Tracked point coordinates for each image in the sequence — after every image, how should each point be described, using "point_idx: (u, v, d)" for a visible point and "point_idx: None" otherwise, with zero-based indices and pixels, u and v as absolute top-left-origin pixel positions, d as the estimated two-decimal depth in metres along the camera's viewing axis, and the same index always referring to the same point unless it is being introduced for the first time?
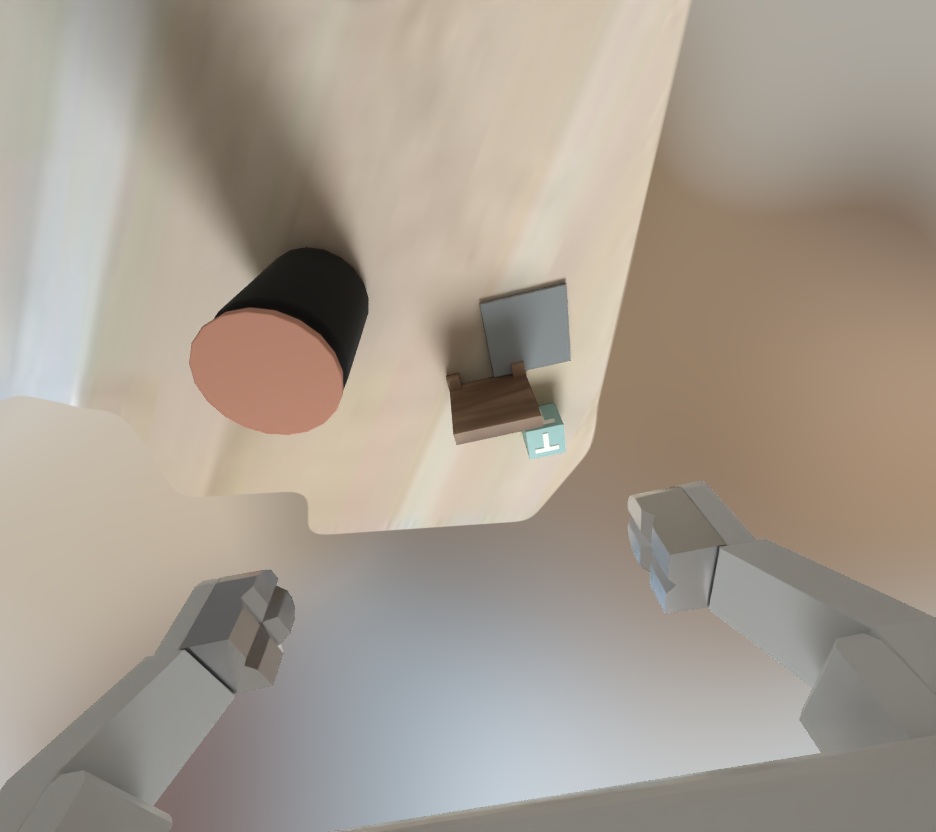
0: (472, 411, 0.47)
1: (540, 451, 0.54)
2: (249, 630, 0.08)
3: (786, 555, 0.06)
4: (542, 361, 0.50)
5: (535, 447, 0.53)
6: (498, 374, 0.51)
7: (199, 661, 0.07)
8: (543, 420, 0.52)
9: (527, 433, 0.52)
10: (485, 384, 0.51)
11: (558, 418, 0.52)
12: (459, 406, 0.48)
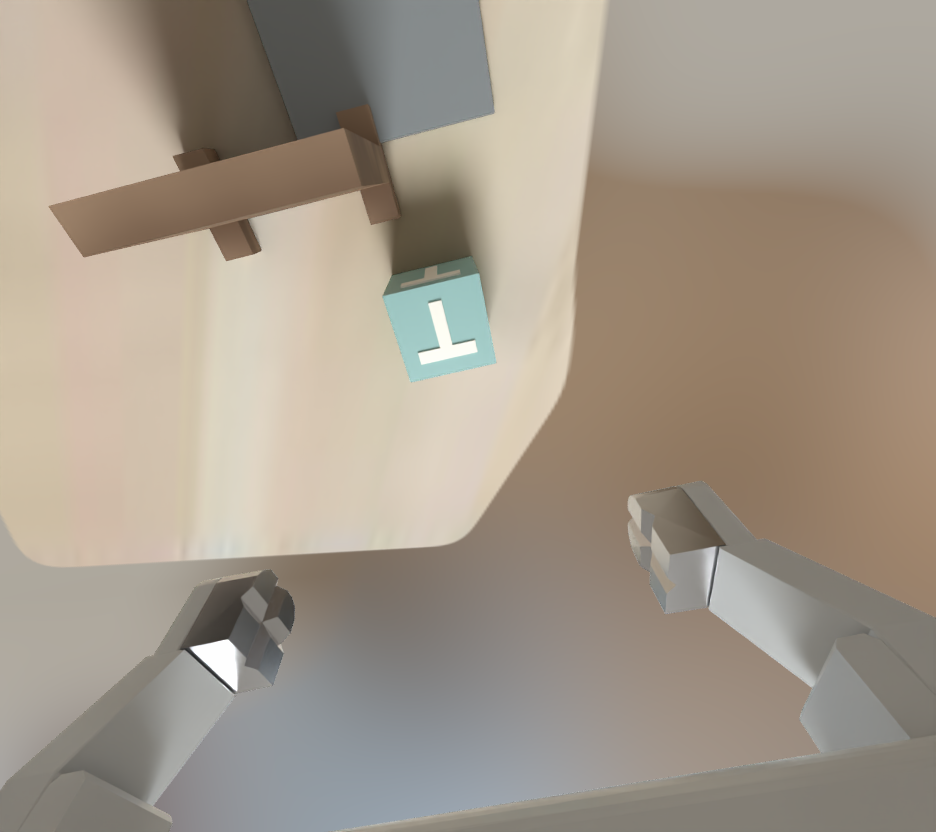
0: None
1: (433, 360, 0.22)
2: (249, 630, 0.08)
3: (786, 555, 0.06)
4: (421, 111, 0.20)
5: (417, 345, 0.21)
6: None
7: (199, 661, 0.07)
8: (434, 275, 0.21)
9: (388, 301, 0.20)
10: None
11: (470, 269, 0.21)
12: None
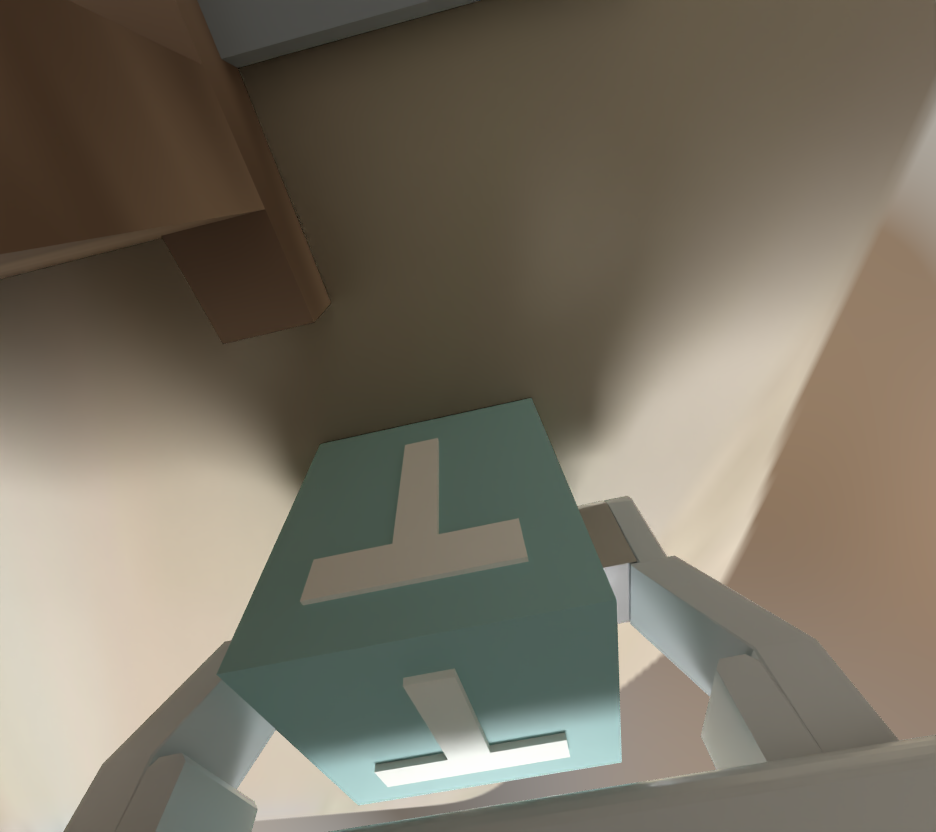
0: None
1: (427, 772, 0.07)
2: None
3: (690, 573, 0.06)
4: None
5: (372, 754, 0.06)
6: None
7: None
8: (428, 535, 0.06)
9: (244, 681, 0.05)
10: None
11: (560, 520, 0.06)
12: None
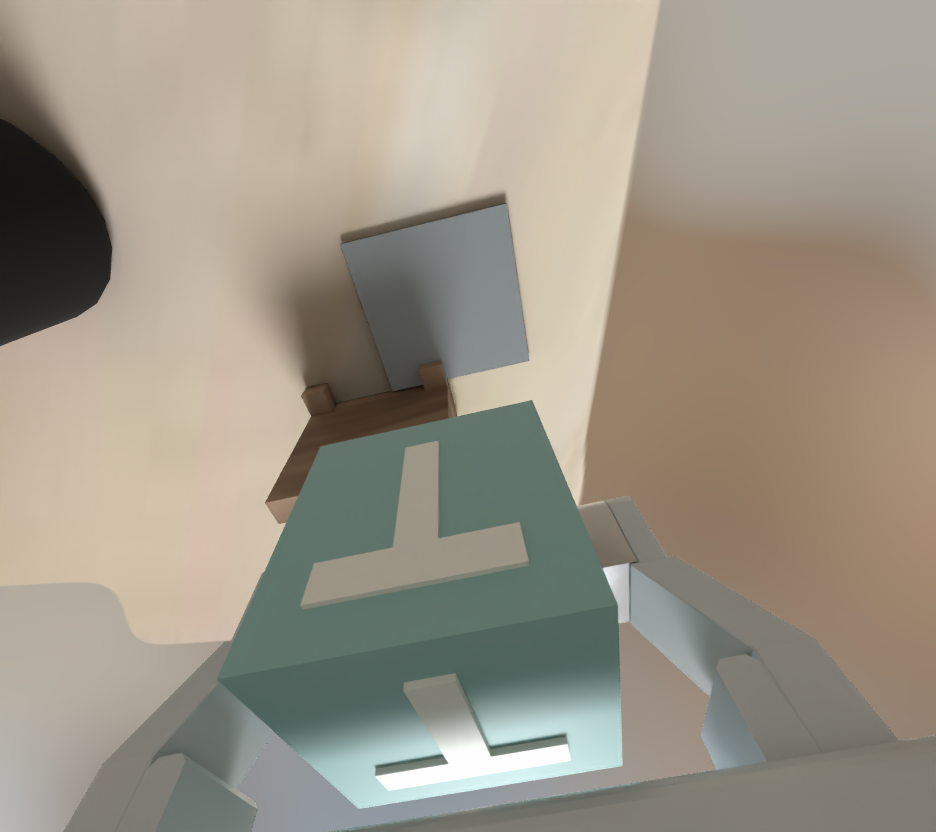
0: None
1: (428, 775, 0.07)
2: None
3: (690, 573, 0.06)
4: (477, 362, 0.28)
5: (373, 758, 0.06)
6: (399, 385, 0.28)
7: None
8: (428, 539, 0.06)
9: (244, 686, 0.05)
10: (374, 403, 0.28)
11: (560, 524, 0.06)
12: (309, 443, 0.25)
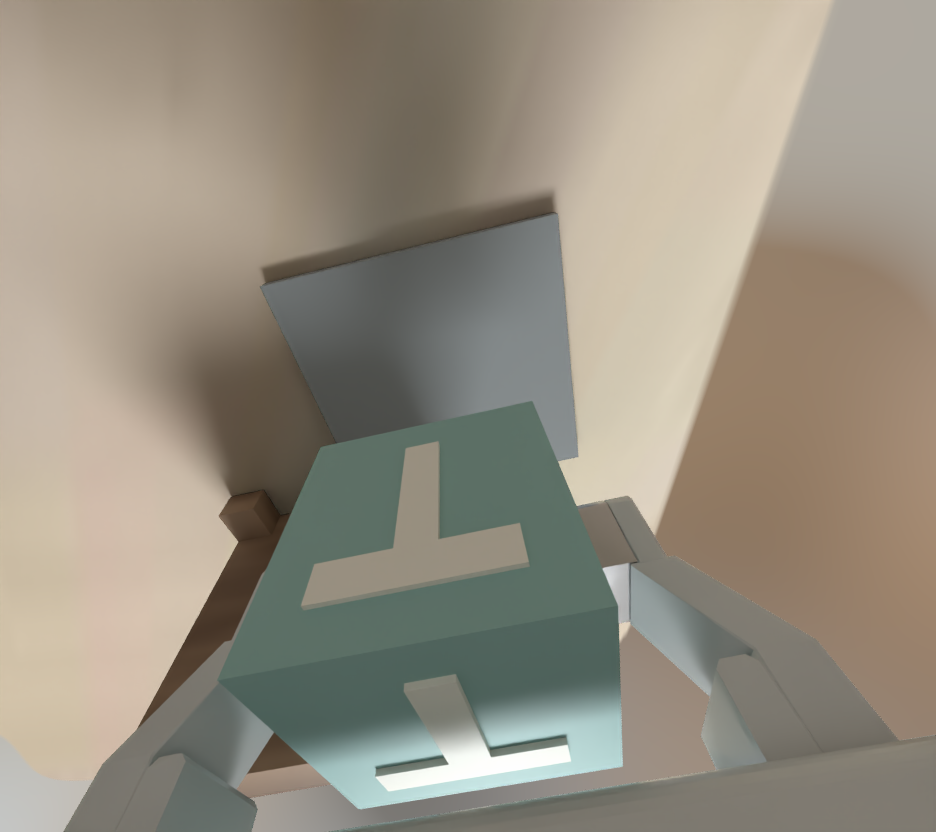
0: None
1: (428, 777, 0.07)
2: None
3: (690, 573, 0.06)
4: None
5: (373, 759, 0.06)
6: None
7: None
8: (429, 540, 0.06)
9: (245, 686, 0.05)
10: None
11: (561, 525, 0.06)
12: (220, 615, 0.15)
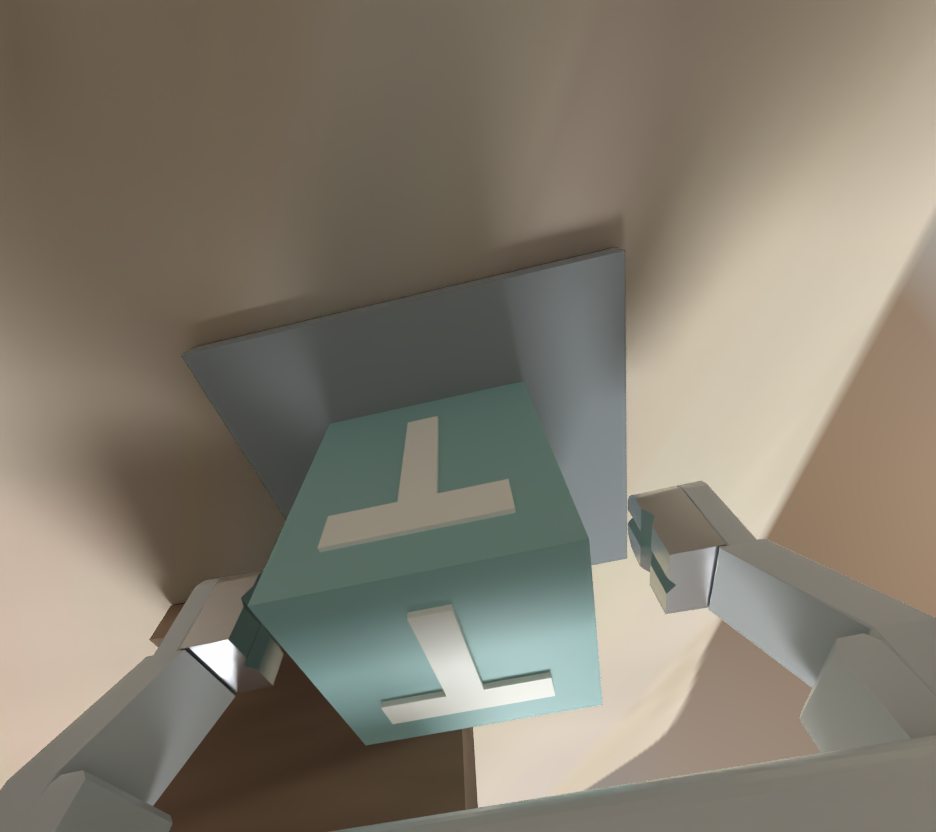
0: None
1: (427, 710, 0.08)
2: (249, 630, 0.08)
3: (786, 555, 0.06)
4: None
5: (379, 691, 0.07)
6: None
7: (199, 661, 0.07)
8: (428, 494, 0.07)
9: (270, 613, 0.06)
10: None
11: (544, 480, 0.07)
12: None
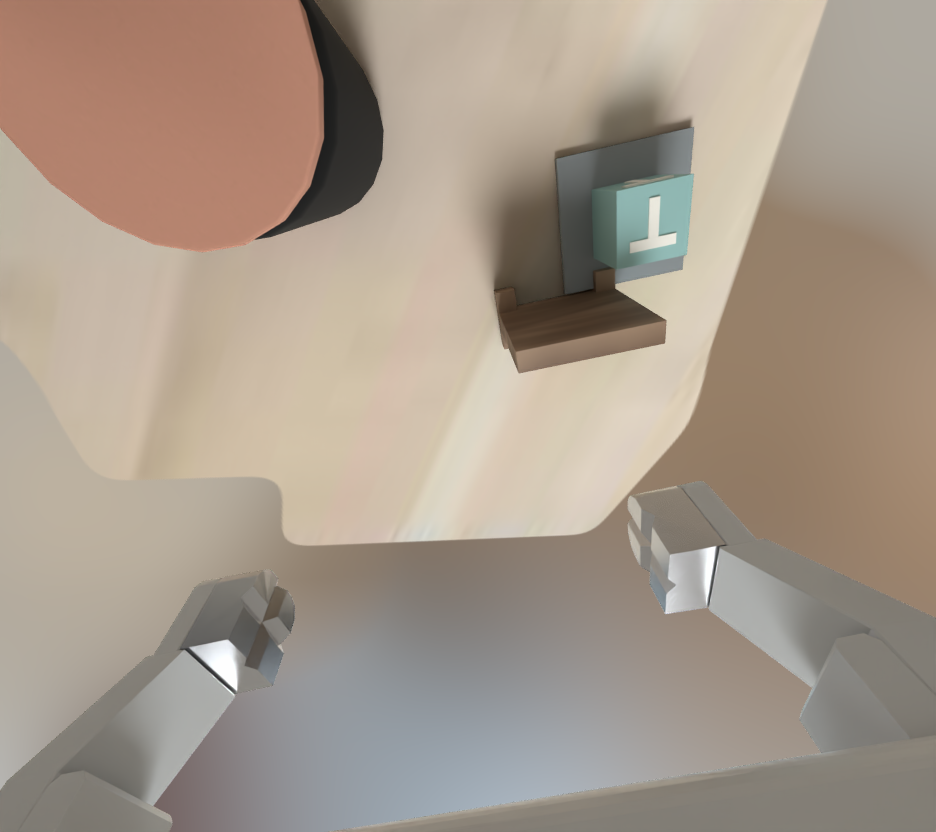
0: (541, 327, 0.29)
1: (639, 250, 0.28)
2: (249, 630, 0.08)
3: (786, 555, 0.06)
4: (640, 269, 0.33)
5: (630, 236, 0.27)
6: (572, 289, 0.34)
7: (199, 661, 0.07)
8: (648, 180, 0.27)
9: (619, 195, 0.26)
10: (554, 302, 0.33)
11: (678, 175, 0.27)
12: (517, 325, 0.31)
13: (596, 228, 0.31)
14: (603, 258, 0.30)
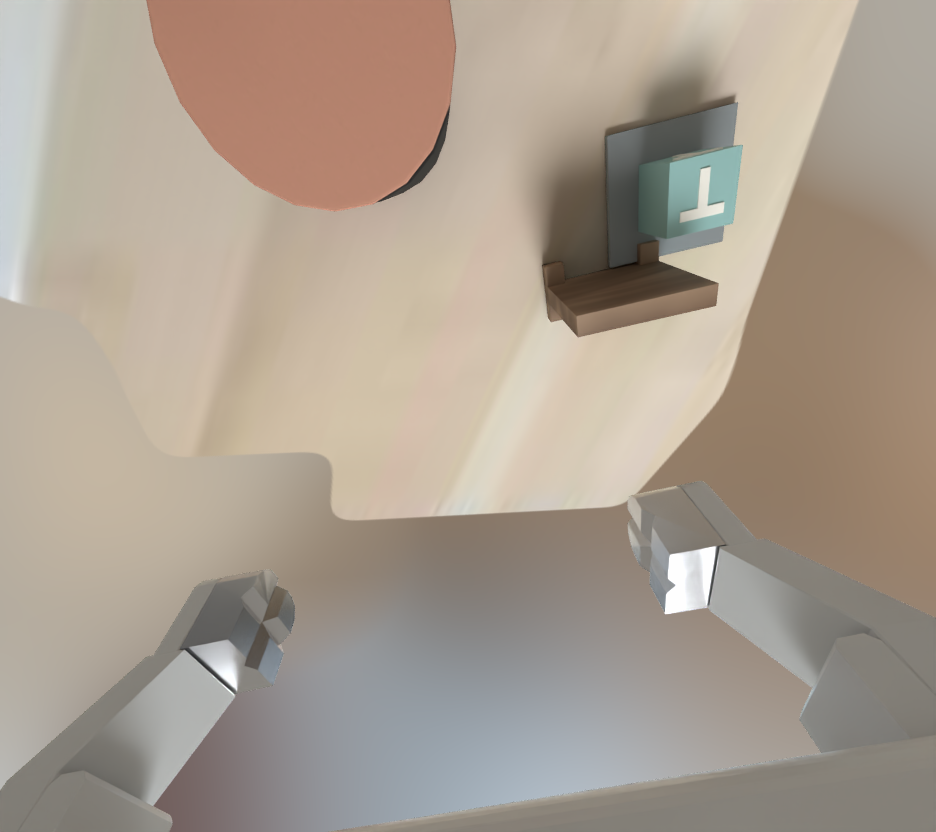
0: (595, 295, 0.31)
1: (689, 219, 0.29)
2: (249, 630, 0.08)
3: (786, 555, 0.06)
4: (682, 241, 0.35)
5: (681, 206, 0.29)
6: (617, 262, 0.36)
7: (199, 661, 0.07)
8: (697, 152, 0.29)
9: (672, 167, 0.28)
10: (600, 275, 0.35)
11: (725, 147, 0.28)
12: (569, 295, 0.32)
13: (643, 201, 0.32)
14: (650, 230, 0.32)
